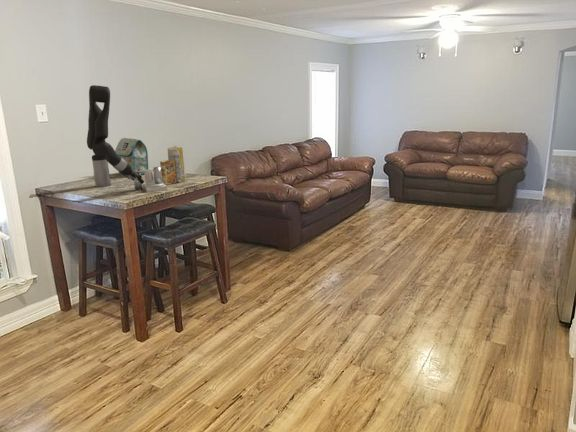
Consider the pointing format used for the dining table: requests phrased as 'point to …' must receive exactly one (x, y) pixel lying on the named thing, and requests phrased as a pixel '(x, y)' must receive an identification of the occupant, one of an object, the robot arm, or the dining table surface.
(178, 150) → the juice carton
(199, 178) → the dining table surface
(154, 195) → the dining table surface
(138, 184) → the spacer
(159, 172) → the spacer
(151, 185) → the grey l-shaped block
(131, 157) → the lunch bag
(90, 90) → the robot arm
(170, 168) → the candy box
